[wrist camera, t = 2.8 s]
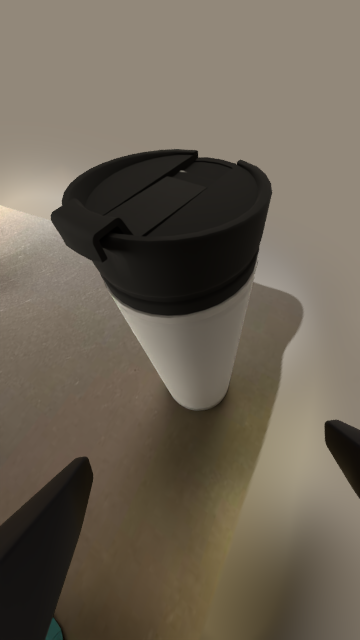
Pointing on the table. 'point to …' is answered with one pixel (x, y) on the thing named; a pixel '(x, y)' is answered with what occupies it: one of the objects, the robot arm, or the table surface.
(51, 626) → the bowl
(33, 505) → the robot arm
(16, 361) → the table surface
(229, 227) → the travel mug
